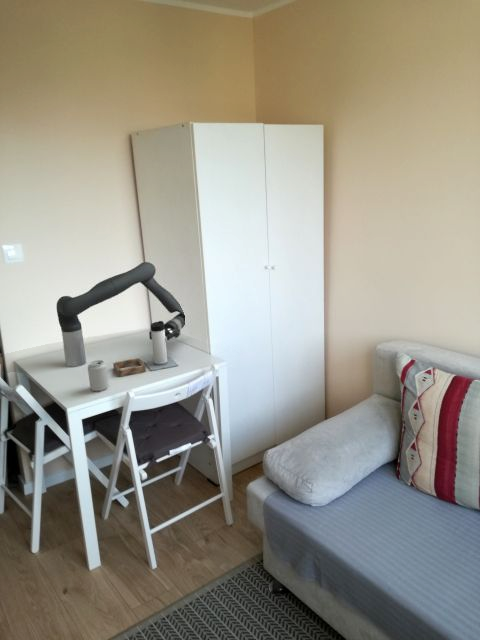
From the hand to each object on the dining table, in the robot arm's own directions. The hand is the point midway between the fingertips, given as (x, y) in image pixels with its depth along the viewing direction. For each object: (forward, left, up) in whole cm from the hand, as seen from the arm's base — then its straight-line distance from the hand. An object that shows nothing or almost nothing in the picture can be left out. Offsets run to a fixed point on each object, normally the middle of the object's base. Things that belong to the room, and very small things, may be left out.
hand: (159, 337), depth 238 cm
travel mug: (0, 0, -13) cm, 13 cm away
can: (-31, -15, -13) cm, 37 cm away
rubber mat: (0, 0, -13) cm, 13 cm away
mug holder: (-15, 0, -13) cm, 20 cm away
